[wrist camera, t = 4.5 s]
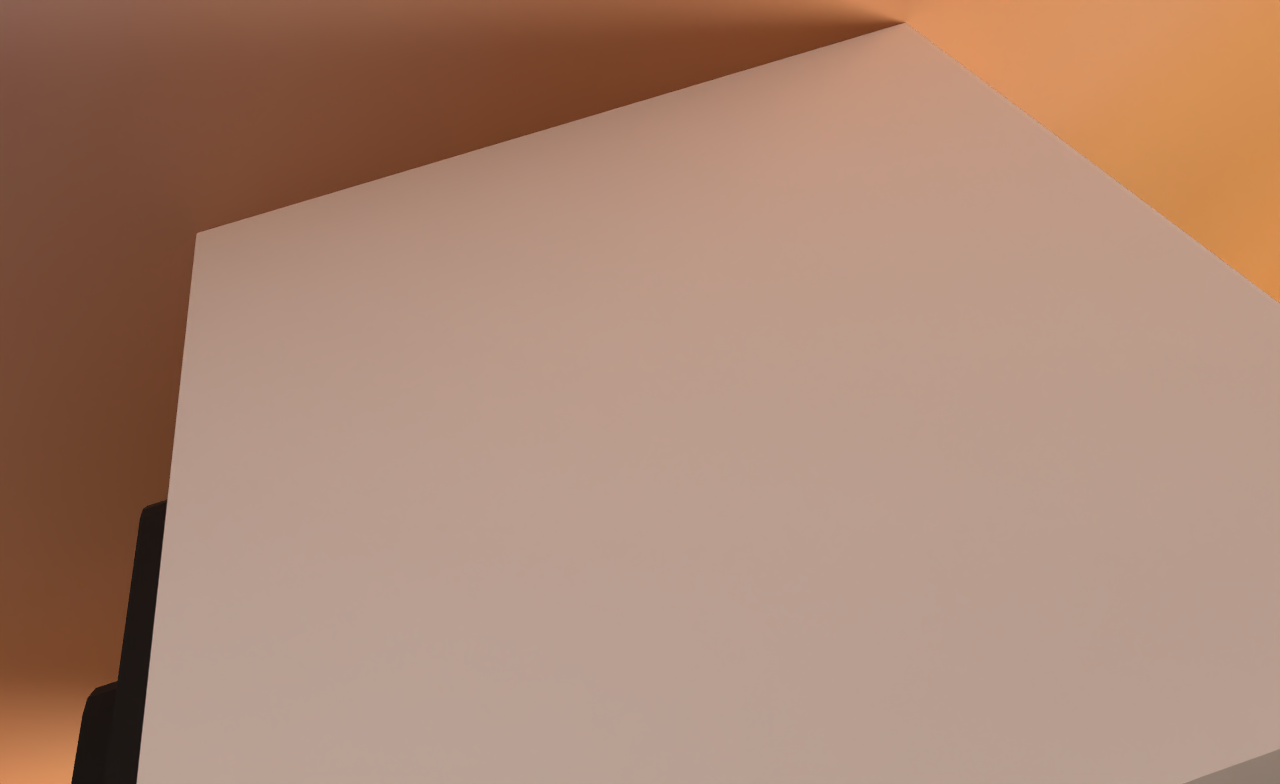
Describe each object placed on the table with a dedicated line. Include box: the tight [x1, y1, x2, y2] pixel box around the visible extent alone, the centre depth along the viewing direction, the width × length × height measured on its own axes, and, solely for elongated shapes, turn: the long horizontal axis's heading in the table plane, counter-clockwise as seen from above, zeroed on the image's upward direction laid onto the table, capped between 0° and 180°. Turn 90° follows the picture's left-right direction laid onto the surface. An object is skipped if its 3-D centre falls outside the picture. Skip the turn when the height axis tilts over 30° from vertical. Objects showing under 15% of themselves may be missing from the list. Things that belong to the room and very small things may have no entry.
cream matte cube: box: [137, 23, 1280, 784], centre depth 9 cm, size 6×6×7 cm
